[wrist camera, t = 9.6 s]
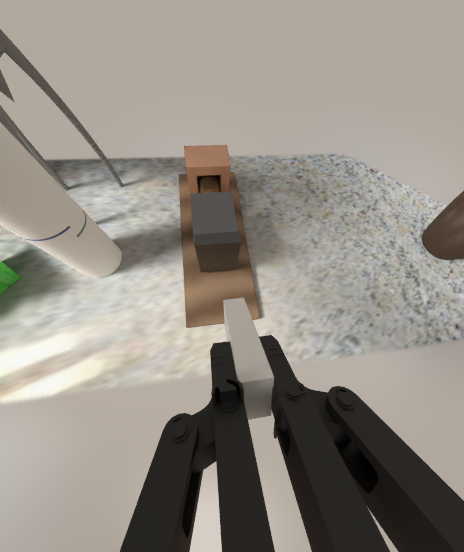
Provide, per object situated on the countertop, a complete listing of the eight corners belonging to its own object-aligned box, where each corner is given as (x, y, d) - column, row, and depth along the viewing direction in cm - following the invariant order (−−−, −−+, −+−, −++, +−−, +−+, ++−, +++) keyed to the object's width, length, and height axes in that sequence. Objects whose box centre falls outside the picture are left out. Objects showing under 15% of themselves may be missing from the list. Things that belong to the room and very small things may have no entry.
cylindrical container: (70, 260, 35) (-218, 83, 12) (104, 234, 37) (-81, 42, 14) (97, 286, 34) (-163, 145, 11) (130, 257, 36) (-24, 90, 13)
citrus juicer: (63, 187, 40) (-289, -187, 12) (110, 167, 43) (-87, -176, 15) (89, 227, 38) (-279, -127, 10) (137, 203, 40) (-39, -128, 12)
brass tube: (235, 269, 35) (241, 241, 26) (200, 272, 34) (195, 245, 25) (222, 182, 41) (224, 136, 32) (193, 183, 41) (187, 136, 32)
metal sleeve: (235, 258, 37) (239, 238, 30) (197, 261, 36) (193, 242, 29) (229, 217, 40) (231, 191, 33) (194, 219, 39) (190, 193, 32)
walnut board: (258, 319, 34) (259, 318, 33) (187, 327, 33) (186, 327, 32) (233, 175, 45) (234, 172, 44) (179, 178, 43) (178, 174, 42)
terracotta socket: (228, 197, 41) (230, 165, 34) (191, 198, 40) (185, 167, 33) (225, 178, 43) (227, 145, 36) (189, 179, 42) (184, 146, 35)
